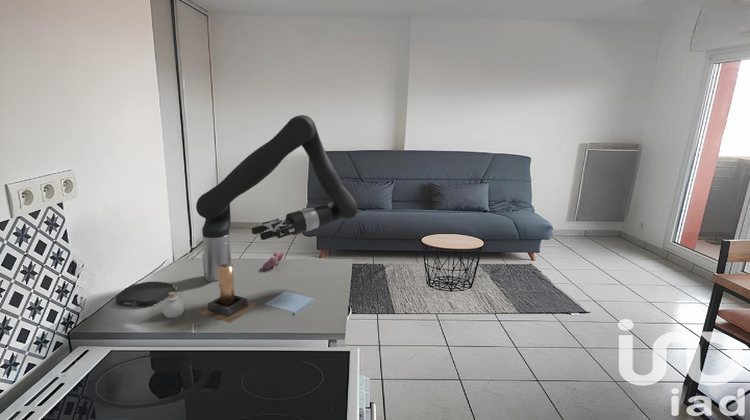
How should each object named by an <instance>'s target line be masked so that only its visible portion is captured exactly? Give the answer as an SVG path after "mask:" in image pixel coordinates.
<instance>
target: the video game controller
mask: <svg viewBox="0 0 750 420" xmlns="http://www.w3.org/2000/svg"><path fill="white" fill-rule="evenodd" d="M284 256H285V253H284V252H283V251H280V250H279V251H276V252H274V253H273V254H272V256H271V257H270V258H269V259H268V260H267V261H266V262H265V263H263V265H262V268H263V270H269V269H270V268H275V267H276V266H278V265H279V264H280V262H281V260H282V259H283V258H284Z"/></svg>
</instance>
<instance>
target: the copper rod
mask: <svg viewBox="0 0 750 420" xmlns="http://www.w3.org/2000/svg"><path fill="white" fill-rule="evenodd" d="M218 277H219V281H218V287H219V288H218V289H219V297H220V303H221V305H223V306H226V307H229V306H231V305H232V304H234V303H235V295H236V293H235V279H234V265H233V264H232V265H231V264H223V265H220V266H218Z"/></svg>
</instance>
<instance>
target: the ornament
mask: <svg viewBox="0 0 750 420" xmlns="http://www.w3.org/2000/svg"><path fill="white" fill-rule="evenodd" d="M173 288H174V289H175V290H174V292H170V293H168V294H169V296H168V297H167V298H166V299H165V300H166V301H165V302H164V303H163V305H162V313H163V316H165V317H166V318H169V319H175V318H178V317H180V316H182V315H183V313H184V311H185V304H184V302H183V301H182V300H181V299H179V296H178V295H175V294H176V292H177V291H178V287H177V286H175V285H173ZM175 291H176V292H175Z"/></svg>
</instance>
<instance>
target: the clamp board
mask: <svg viewBox="0 0 750 420" xmlns="http://www.w3.org/2000/svg"><path fill="white" fill-rule="evenodd" d="M259 306H260V304H259V303H254V302H251V301H249V300H248V298H247V297H242V296H241V295H240V296H239V295H236V294H235V303H234V304H232V305H231V306H229V307H226V306H223V305H221V303H220V296H219V297H217V298H215V299H214V300H211V301H210V302H208V303H207V305H206V306H205V307H203V308H201V309H199V310H196V313H198V314H200V315H204V316H208V317H211V318H214V319H218V320H221V321H223V322H227V323H232V322H233V321H235V320H237V319H239V318H240V317H242V316H243V315H244V316H245V314H247V313H249V312H250V311H252V310H253V309H255V308H257V307H259Z"/></svg>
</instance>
